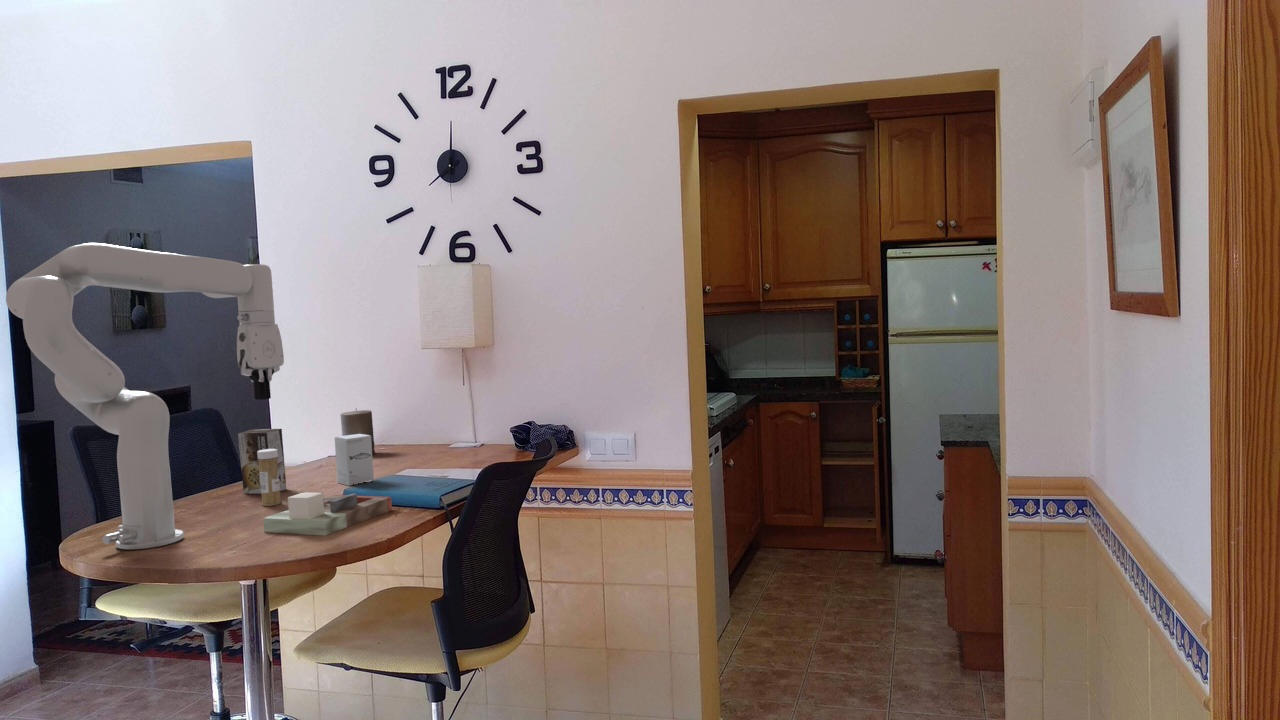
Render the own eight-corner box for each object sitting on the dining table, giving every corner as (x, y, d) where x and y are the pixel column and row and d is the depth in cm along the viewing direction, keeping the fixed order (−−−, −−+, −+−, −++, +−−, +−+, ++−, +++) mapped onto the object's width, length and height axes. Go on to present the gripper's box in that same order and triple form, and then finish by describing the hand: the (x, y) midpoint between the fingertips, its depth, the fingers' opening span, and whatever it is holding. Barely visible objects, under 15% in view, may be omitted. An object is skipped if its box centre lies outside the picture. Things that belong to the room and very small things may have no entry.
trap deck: (325, 535, 196) (323, 509, 195) (264, 531, 201) (262, 506, 201) (391, 509, 217) (390, 486, 217) (335, 507, 223) (333, 484, 222)
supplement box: (348, 486, 248) (345, 438, 247) (336, 483, 254) (333, 436, 253) (374, 481, 253) (371, 435, 252) (362, 478, 258) (359, 432, 258)
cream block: (308, 519, 198) (307, 498, 198) (289, 518, 200) (287, 497, 199) (324, 513, 203) (322, 492, 202) (305, 512, 204) (303, 492, 204)
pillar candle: (381, 453, 301) (378, 406, 301) (357, 458, 293) (354, 410, 292) (360, 452, 307) (357, 406, 306) (336, 457, 298) (333, 409, 297)
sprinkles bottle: (283, 504, 229) (279, 449, 228) (263, 507, 226) (259, 452, 225) (279, 501, 233) (274, 447, 232) (259, 504, 230) (255, 450, 229)
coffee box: (287, 489, 249) (283, 428, 247) (272, 494, 242) (267, 432, 241) (258, 488, 251) (253, 428, 250) (241, 493, 245) (237, 432, 244)
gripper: (244, 319, 207) (250, 403, 208) (293, 317, 220) (298, 395, 222) (218, 320, 209) (224, 403, 211) (268, 318, 223) (273, 395, 224)
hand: (262, 398), depth 216 cm, fingers closed
